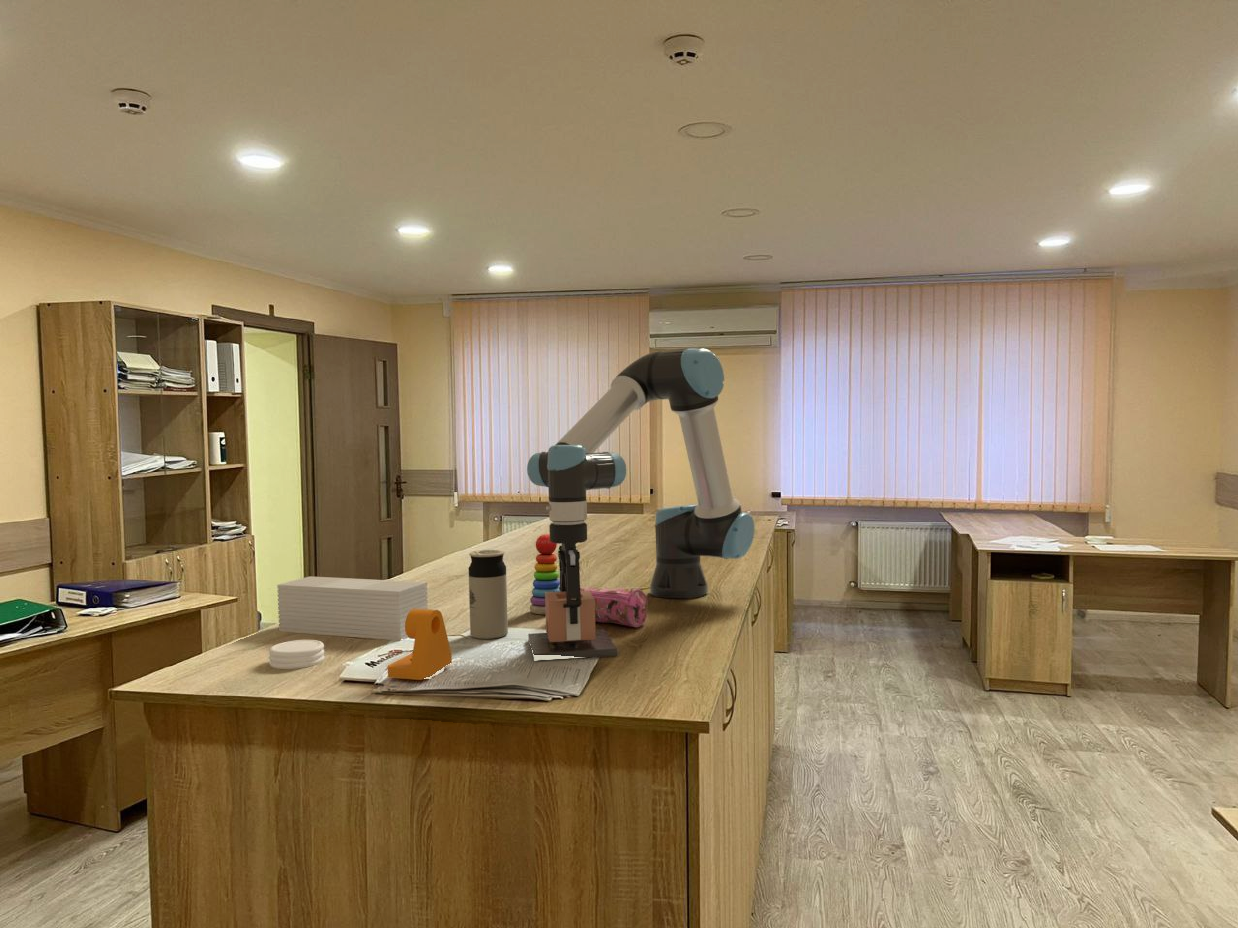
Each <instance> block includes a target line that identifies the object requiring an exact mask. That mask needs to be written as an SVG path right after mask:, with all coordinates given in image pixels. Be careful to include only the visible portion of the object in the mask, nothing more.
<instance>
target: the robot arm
mask: <svg viewBox="0 0 1238 928" xmlns="http://www.w3.org/2000/svg"><path fill="white" fill-rule="evenodd" d="M724 381H725V374H724V369H723V366H722V364H721V362H720V359H719V358H718V356H717V355H716V354H715V353H714V352H712V351H711V350H709V349H708V348H695V347H689V348H682V349H681V348H680V349H671V350H664V351H661V350H660V351H654V352H650V353H647V354H645V355H643V356H640V357H639V358H638V359H636V360H634V361H633V362H632V363H631V364H629V365H628V366H626V367H625V368H623V370H622V371H620V372H619V374H617V376H616V377H614V378H613V380H611V382H610V383H611V384H610V389H609V390H607V391H606V392H605V393H604V395H602V396H601V397H600V399H598V401H597V402H596V403H595V404H594V405H593V406H592V407H591V408H590V409H589V410H588V411H587V412H586V413H585V414H584V415H583V416H582V417H581V418H580V419H579V420H578V421H577V422H576V423H575V424H574V425H573V426H572V427H571V428H570V429H569V430H568V431H567V432H566V433H565V434H564V435H563V436H562V438H560V439H559V440H558V441H557V442H556V444H554V445H552V446H550V447H549V448H548V451H547V452H546V451H541V452H536V453H534V454H533V455H532V456H530V457H529V460H528V462H527V467H526V472H527V476H528V478H529V480H530V482H531V483H533V484H534V485H535V486H537V487H544V488H545V487H546V488H548V505H547V506H545V510H546V511H547V512H548V514H549V515H548V518H549V521H550V522H552V523H550V524H549V535H550V541H551V542H552V543H557V545H558V544H559V546H558V550H557V556H558V557H557V558H558V566H559V581H560V585H559V586H558V587H559V589H560V592H565V591H566V600H567V603H566V604H563V608H566V638H567V641H568V640H581V630H580V606H581V604H582V602H581V593H580V587H581V577H580V575H581V574H580V570H581V569H580V559H581V555H580V554H581V553H580V551H579V550H578V549H577V544H578V543H579V544H581V543H585V542H586V541H587V540H588V524H587V523H586V522H585V521H587V519H588V503H587V502H588V500H587V491H590V490H602V489H608V490H609V489H611V488H615V487H618V486H620V485H621V484H622V483H623V482H624V481H625V479H626V476H627V465H626V462H625V460H624V458H623V457H622V456H621V455H620V454H619V453H616V452H613V451H611V452H610V451H603V452H596V451H597V450H598V449H599V448H600V447H601V446H602V445H603V443H604V442H605V441H606V440H607V439H609V438H610V436H611V435H612V434H613V433H614V432H615V431H616V430H617V428H619V426H620V425H621V424H622V423H623V422H624V421H625V420H626V419H627V418H628V417H629V416H630V415H631V414H632V412H633V411H638V410H640V409H642V408H643V407H644V406H645V405H646V404H647V403H650V402H653V401H657V400H658V401H659V400H668V402H669V406H670V411H671V412H673V413H675V414H676V415H678V417H679V422H680V428H681V430H682V431H681V432H682V436H683V440H684V444H685V449H686V452H687V453H686V455H687V459H688V462H689V467H690V471H691V472H690V473H691V475H692V481H693V484H694V489H695V493H696V494H695V495H696V499H697V503H695V504H688V505H687V504H685V505H678V506H671V507H663V508H660V509H658V510H656V513H655V524H654V527H655V555H656V556H655V559H656V560H655V561H656V563H655V568H654V572H653V575H652V578H651V580H650V581H651V582H650V585H649V588H650V589H649V594H650V595H651V596H653V597H657V598H663V599H693V598H698V597H704V596H706V595H707V594H708V593H707V592H708V591H709V590H708V589H709V588H708V582H707V579H706V576H705V573H704V570H703V567H702V563H701V557H710V558H719V559H720V558H721V559H724V560H728V559H736V560H737V559H741V558H743V557H744V556H745V555H747V553H748V552H749V551H750V549H751V547H752V543H753V540H754V535H755V521H754V519H753V517H752V515H751V514H749V513H748V512H745V511H742V506H741V502H740V501H739V500H738V499H737V498H735V497H733V494H732V489H731V484H730V480H729V475H728V470H727V465H726V461H725V460H726V459H725V456H724V452H723V451H724V450H723V447H722V442H721V441H722V440H721V435H720V431H719V427H718V422H717V417H716V413H715V406H716V404H717V403H718V402H719V396H720V394H721V393H722V392H723V389H724ZM560 544H561V545H560ZM705 594H706V595H705ZM703 595H704V596H703ZM571 599H576V600H571Z"/></svg>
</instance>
